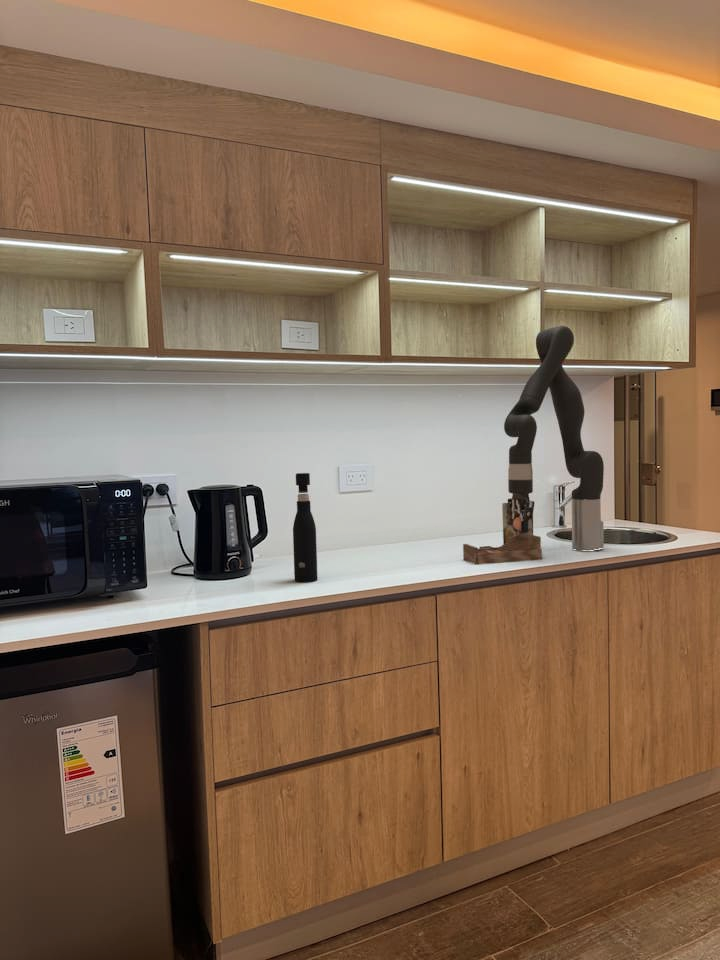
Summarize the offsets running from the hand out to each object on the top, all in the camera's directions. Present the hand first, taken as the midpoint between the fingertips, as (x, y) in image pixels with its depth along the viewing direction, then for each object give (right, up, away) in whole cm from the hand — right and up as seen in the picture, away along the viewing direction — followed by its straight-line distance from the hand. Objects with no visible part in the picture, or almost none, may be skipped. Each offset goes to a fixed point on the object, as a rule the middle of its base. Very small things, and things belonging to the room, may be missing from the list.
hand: (520, 531), depth 215 cm
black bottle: (-66, -12, -25) cm, 72 cm away
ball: (0, 0, 0) cm, 0 cm away
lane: (-6, -9, -1) cm, 11 cm away
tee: (-9, -8, +9) cm, 15 cm away
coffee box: (+3, -8, +18) cm, 20 cm away
